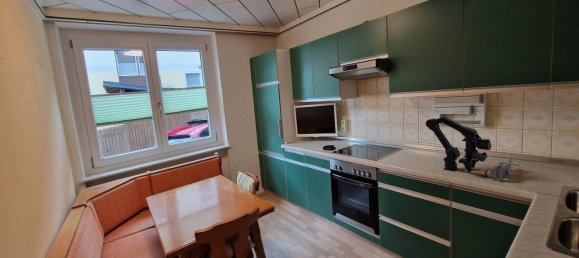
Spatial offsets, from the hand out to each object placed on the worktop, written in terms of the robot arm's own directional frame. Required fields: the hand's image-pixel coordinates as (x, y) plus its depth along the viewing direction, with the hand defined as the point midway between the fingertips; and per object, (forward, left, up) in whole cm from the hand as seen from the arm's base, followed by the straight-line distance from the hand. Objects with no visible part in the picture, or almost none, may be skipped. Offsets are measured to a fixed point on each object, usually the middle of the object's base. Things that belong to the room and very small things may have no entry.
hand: (470, 171), depth 167 cm
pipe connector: (+14, +19, -2) cm, 24 cm away
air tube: (+5, 0, -1) cm, 5 cm away
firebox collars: (+16, 0, -1) cm, 16 cm away
